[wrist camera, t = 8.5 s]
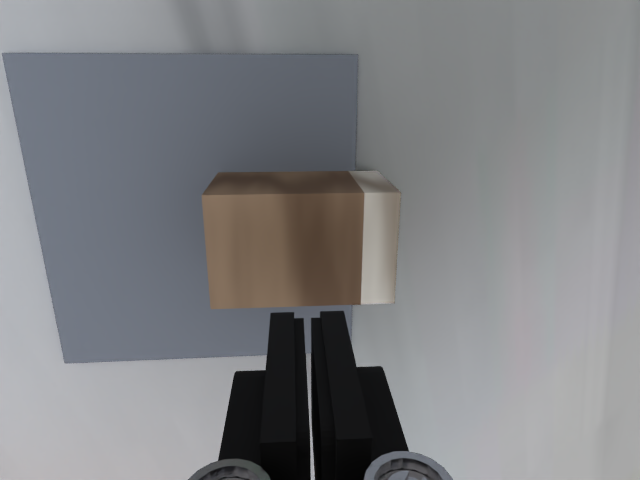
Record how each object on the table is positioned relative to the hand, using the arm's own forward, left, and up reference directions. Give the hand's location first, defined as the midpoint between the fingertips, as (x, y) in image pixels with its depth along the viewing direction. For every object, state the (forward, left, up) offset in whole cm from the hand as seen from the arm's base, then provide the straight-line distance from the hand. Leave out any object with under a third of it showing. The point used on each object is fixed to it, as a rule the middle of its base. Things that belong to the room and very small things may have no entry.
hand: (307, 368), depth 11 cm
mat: (+5, 0, -15) cm, 15 cm away
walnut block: (-4, 0, -12) cm, 12 cm away
